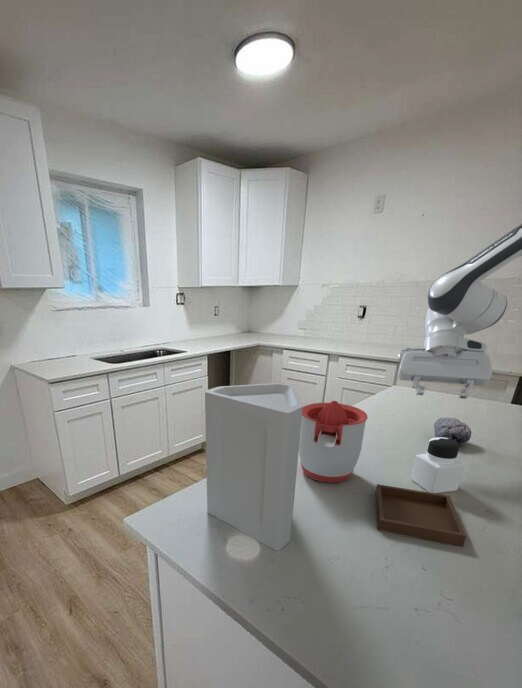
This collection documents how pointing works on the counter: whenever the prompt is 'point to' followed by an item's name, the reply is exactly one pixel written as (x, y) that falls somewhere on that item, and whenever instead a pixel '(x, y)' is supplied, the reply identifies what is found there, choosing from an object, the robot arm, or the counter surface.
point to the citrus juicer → (330, 440)
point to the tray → (418, 515)
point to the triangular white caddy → (253, 458)
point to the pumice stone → (452, 430)
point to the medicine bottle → (438, 466)
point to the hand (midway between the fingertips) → (441, 395)
